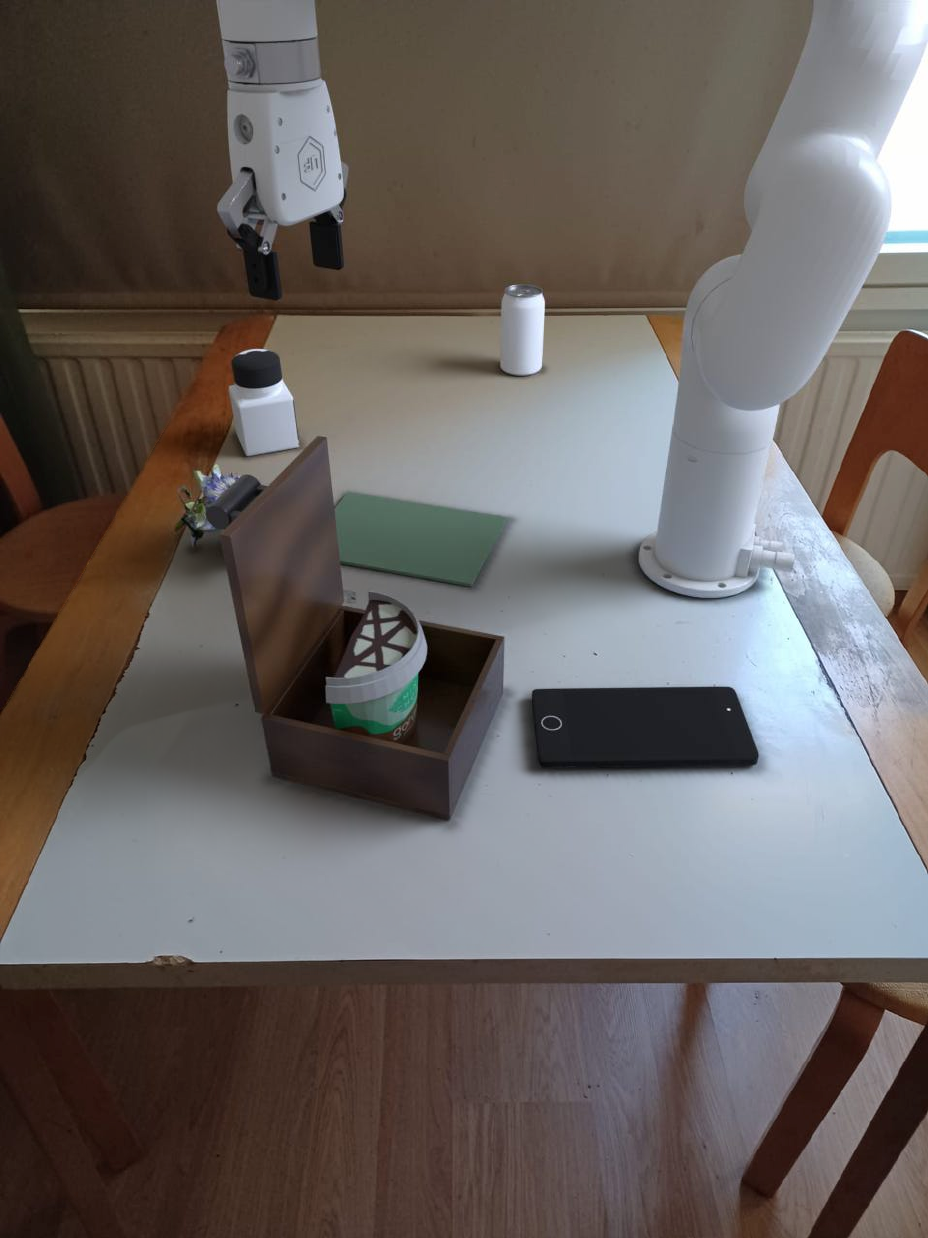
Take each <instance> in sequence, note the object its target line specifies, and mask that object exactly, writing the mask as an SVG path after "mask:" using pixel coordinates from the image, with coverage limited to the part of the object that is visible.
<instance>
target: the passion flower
mask: <svg viewBox="0 0 928 1238" xmlns="http://www.w3.org/2000/svg"><path fill="white" fill-rule="evenodd" d="M192 474H193V477H194V479H195V481H196V483H197V485H198V487H199V488H200V490H201V492H202V495H203V496H201V498H199V497H197V498H196V501H197V503H196V502H195V501H191V502H190V501H189V502H186V501H184V498H183V496H182V494H181V492H182V493H184V494H185V495H186V498H187V499H188V500H191V499H192V494H191V492H190V490H189V489H188V488H187V486H185V485H182V486H179V487H178V489H177V494H178V496H179V499H180V502H181V503H182V505H183V507H184V510H185V512H184V513H183V515H182V517H181V518H180V519H179V521H177V522H176V524H175V527H174V532H178V531H180V530H181V528H183V527H184V526H186V527H187V528H188V530H189V531H190V532H191V533H190V541H191V545H192V550H195V547H196V543H197V542H198V541H199V540H200V539H202V538H203V536H204V533H205V532H215V531H218V530H219V529H217V528H215V527H213V526H212V525H211V524H210V523H209V522H208V520H207V518H206V510H207V508H208V507H209V506H210V505H211V504H212V503H213V502H214V501H215V500H216V499H217V498H218V497H220V496H221V495H222V494H223V493H224V492H225V491H226V490H227V489H228V488H229V487H230V486H231V485H232V484H233V483H234V482H235V481H236V480H237V479H239V478H240V477H241V476H242V475H239V476H236V477H234V475H233V472H230V473H229V474H226V473H224V474H223V473H221V469H220V467H219V464H214V465H213V466H212V469H211V472H210V474H211V477H209V476H207V475H204V474H203V473H202V471H201V470H193V471H192ZM236 475H238V473H237V472H236ZM194 507H195V508H194ZM224 530H225V529H223V531H224Z"/></svg>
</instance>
